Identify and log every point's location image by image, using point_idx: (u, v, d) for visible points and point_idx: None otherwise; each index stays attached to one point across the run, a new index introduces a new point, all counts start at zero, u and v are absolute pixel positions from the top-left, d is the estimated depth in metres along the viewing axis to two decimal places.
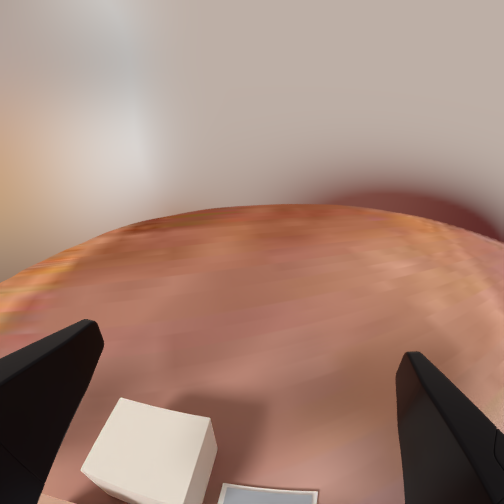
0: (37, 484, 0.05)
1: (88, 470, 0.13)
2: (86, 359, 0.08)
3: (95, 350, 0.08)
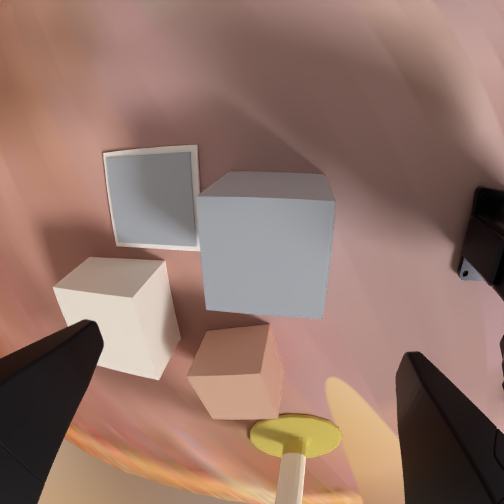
0: (37, 484, 0.05)
1: (153, 374, 0.19)
2: (86, 359, 0.08)
3: (95, 350, 0.08)
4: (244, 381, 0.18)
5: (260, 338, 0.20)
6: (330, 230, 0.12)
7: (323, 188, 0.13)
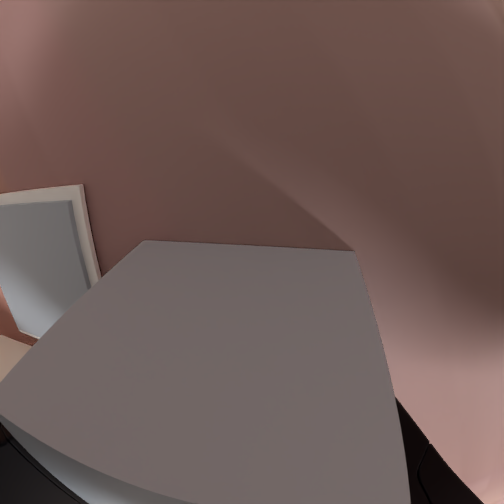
0: None
1: None
2: None
3: None
4: None
5: None
6: None
7: (366, 368, 0.04)
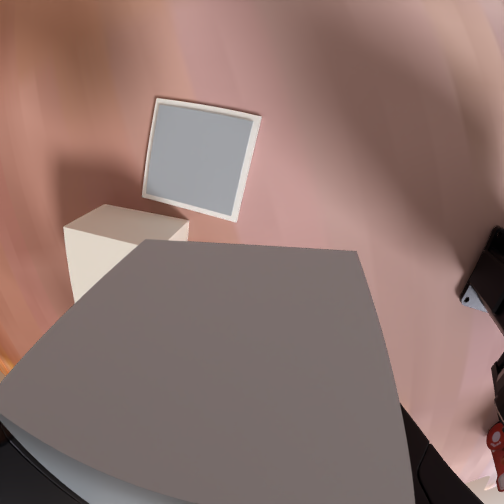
0: None
1: None
2: None
3: None
4: None
5: None
6: None
7: (369, 368, 0.04)
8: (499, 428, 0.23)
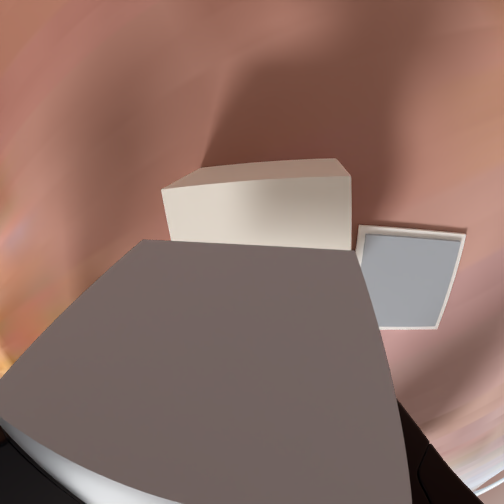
0: None
1: None
2: None
3: None
4: None
5: None
6: None
7: (366, 369, 0.04)
8: None
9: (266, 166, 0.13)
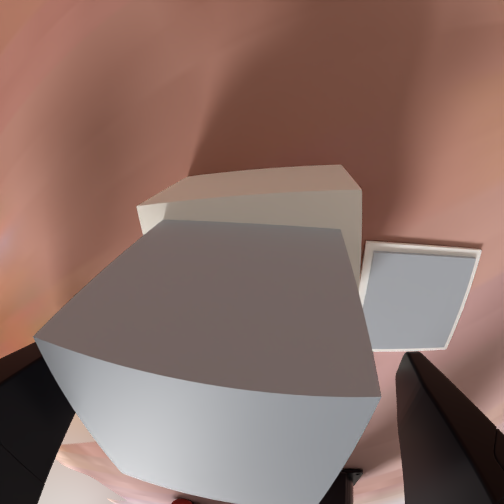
0: (37, 484, 0.05)
1: None
2: None
3: None
4: None
5: None
6: (351, 440, 0.04)
7: (344, 303, 0.05)
8: None
9: (260, 175, 0.11)
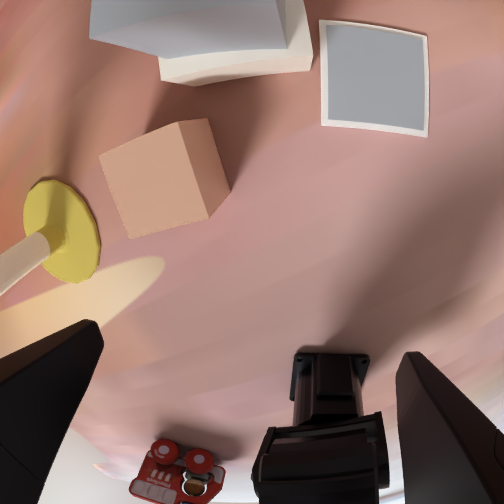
0: (37, 484, 0.05)
1: (171, 73, 0.12)
2: (86, 359, 0.08)
3: (95, 350, 0.08)
4: (189, 199, 0.14)
5: (222, 190, 0.18)
6: None
7: None
8: (171, 447, 0.35)
9: None
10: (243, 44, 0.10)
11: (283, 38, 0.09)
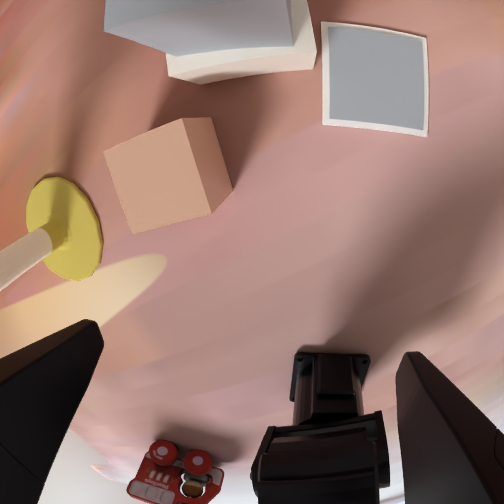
0: (37, 484, 0.05)
1: (178, 68, 0.12)
2: (86, 359, 0.08)
3: (95, 350, 0.08)
4: (192, 194, 0.15)
5: (225, 188, 0.18)
6: None
7: None
8: (169, 448, 0.34)
9: None
10: (251, 41, 0.10)
11: (290, 35, 0.09)
